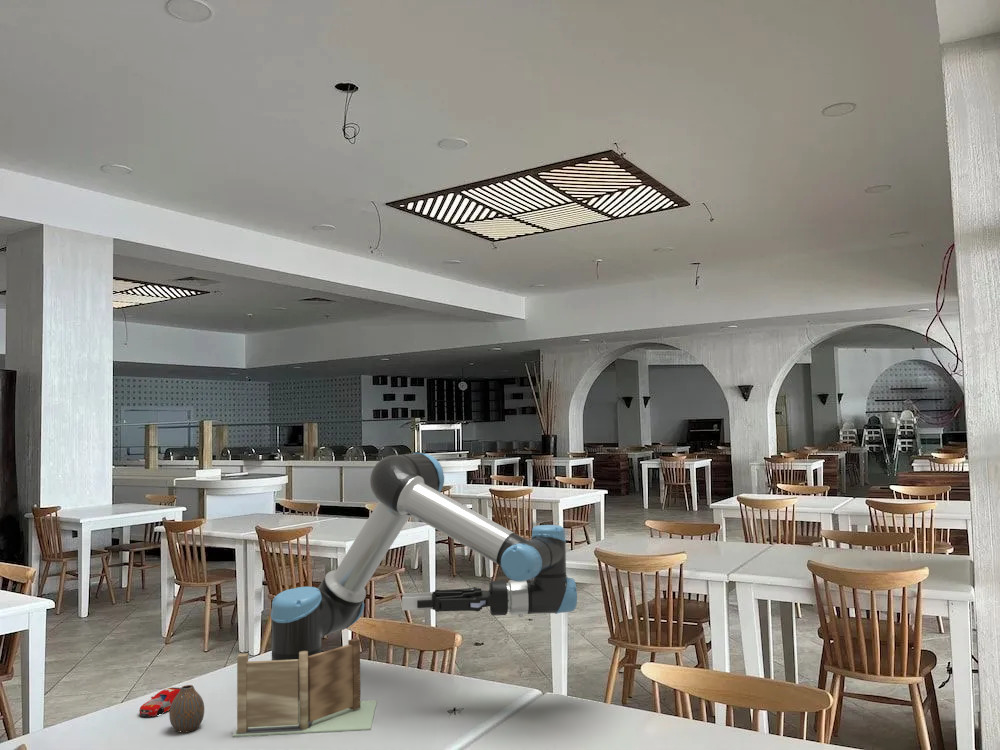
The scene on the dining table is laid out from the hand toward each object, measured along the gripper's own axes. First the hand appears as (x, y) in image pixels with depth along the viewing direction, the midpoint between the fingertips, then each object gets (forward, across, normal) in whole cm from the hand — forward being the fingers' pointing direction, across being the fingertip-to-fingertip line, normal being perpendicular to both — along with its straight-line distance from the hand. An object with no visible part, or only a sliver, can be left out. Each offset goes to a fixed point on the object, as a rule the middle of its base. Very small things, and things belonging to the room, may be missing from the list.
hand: (402, 601), depth 174 cm
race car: (+55, +11, -24) cm, 61 cm away
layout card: (+21, 0, -24) cm, 32 cm away
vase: (+46, -3, -24) cm, 52 cm away
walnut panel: (+15, -1, -23) cm, 28 cm away
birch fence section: (+27, -7, -24) cm, 36 cm away
